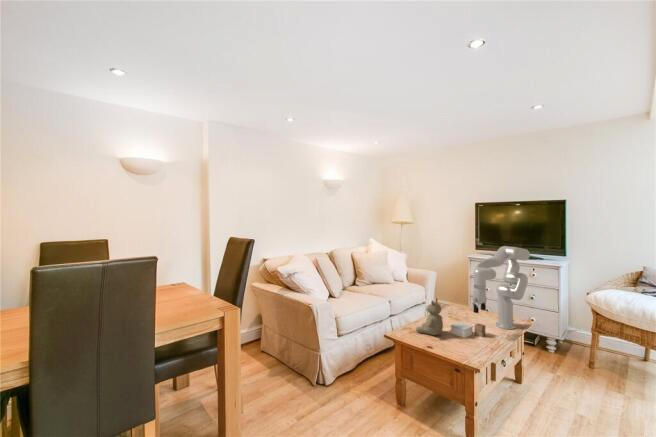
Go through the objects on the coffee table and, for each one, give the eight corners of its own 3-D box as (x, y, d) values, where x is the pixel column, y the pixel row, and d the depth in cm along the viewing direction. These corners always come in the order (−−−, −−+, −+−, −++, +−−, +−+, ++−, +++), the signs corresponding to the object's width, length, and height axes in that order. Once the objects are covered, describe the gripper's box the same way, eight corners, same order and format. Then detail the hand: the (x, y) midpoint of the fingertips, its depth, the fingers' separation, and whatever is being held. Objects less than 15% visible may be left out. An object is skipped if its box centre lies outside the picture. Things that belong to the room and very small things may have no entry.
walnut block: (478, 333, 212) (478, 323, 212) (485, 335, 208) (485, 325, 208) (474, 334, 209) (474, 324, 209) (481, 337, 205) (481, 327, 205)
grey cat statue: (425, 325, 227) (425, 293, 226) (446, 331, 216) (446, 297, 215) (412, 334, 212) (411, 299, 211) (434, 340, 201) (434, 304, 200)
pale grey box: (459, 329, 219) (459, 321, 218) (472, 334, 210) (472, 326, 210) (450, 333, 213) (450, 325, 213) (464, 338, 204) (464, 329, 204)
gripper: (480, 284, 216) (480, 307, 216) (467, 287, 206) (467, 312, 206) (491, 286, 210) (491, 310, 210) (478, 290, 200) (478, 315, 200)
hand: (479, 311), depth 208 cm, fingers open, 9 cm apart
